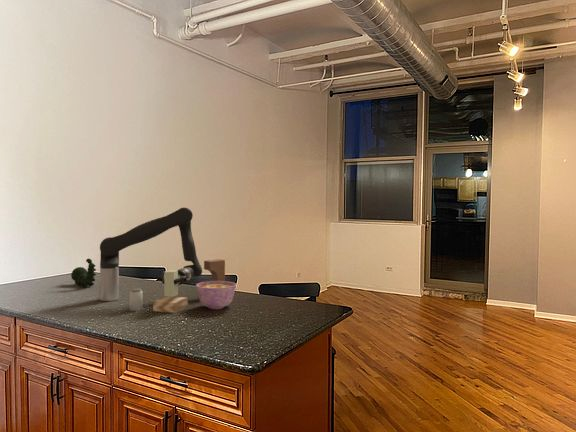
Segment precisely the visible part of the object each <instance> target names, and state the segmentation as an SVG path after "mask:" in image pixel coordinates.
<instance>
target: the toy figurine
mask: <svg viewBox="0 0 576 432" xmlns="http://www.w3.org/2000/svg"><path fill="white" fill-rule="evenodd" d="M85 261H86V263H87V264H88V265H87V269H86V267H85V268H84V267H81V266H80V267H76V268H74V269H73V270H72V272H71V280H73V281H74V284H75V285H76V286H80V287H81V288H84V287H88V286H89V287H93V286H94V285H95V281H96V279H95V276H96V275H97V273H95V271H96V270H97V269H96V268H95V267H96V264H95V263H93V260H92V259H91V258H87V259H86V260H85Z"/></svg>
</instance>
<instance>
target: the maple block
mask: <svg viewBox="0 0 576 432" xmlns="http://www.w3.org/2000/svg"><path fill="white" fill-rule="evenodd" d="M188 300H189V298H188V297H183V296H182V297H180V296H174V297H172V296H163V297H160V298H158V299H155V300H153V302H152V306H153V307H152V311H153V312H162V313H174V314H175V313H178V312H180V311H182V310H184V309H186V308H188V306H189V305H188V303H189V302H188Z"/></svg>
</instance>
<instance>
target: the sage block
mask: <svg viewBox="0 0 576 432" xmlns="http://www.w3.org/2000/svg"><path fill="white" fill-rule="evenodd" d="M178 270H179V269H177V270H175V269H174V270H173V269H171V270H170V269H169V270H165V271H163V276H164V284H163V285H164V286H163V287H164V288H163V291H164V292H163V295H164V296H163V297H166V296H170V297H177V296H178V295H179V285H178V283H177V284H174V280H175V279H178Z"/></svg>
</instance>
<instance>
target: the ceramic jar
mask: <svg viewBox="0 0 576 432" xmlns="http://www.w3.org/2000/svg"><path fill="white" fill-rule="evenodd" d="M143 293H144V291H143V290H142V289H141V288H139V287H138V288H131V290H130V291H129V311H131V312H138V311H142V310H143V299H144V298H143V297H144V296H143V295H144V294H143Z"/></svg>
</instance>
